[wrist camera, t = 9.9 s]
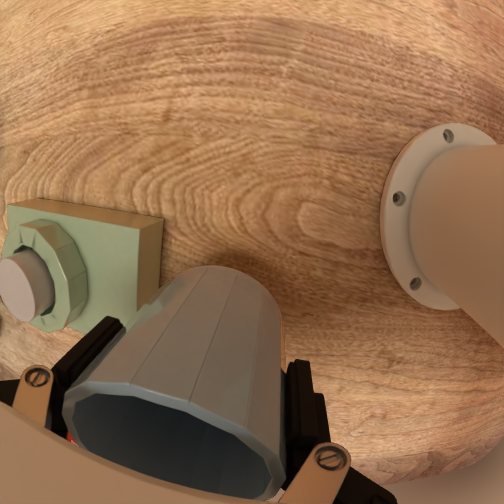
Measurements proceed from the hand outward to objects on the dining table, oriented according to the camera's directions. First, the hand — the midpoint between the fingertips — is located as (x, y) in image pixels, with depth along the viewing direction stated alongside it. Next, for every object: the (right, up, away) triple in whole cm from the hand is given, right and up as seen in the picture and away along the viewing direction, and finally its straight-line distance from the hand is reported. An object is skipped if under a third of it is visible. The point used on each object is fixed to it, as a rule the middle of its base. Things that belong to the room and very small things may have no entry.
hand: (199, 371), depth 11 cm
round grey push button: (-11, +3, +3) cm, 12 cm away
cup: (0, +1, +4) cm, 4 cm away
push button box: (-10, +4, +8) cm, 13 cm away
